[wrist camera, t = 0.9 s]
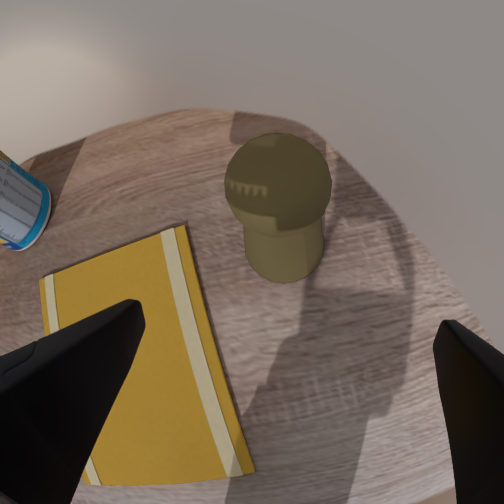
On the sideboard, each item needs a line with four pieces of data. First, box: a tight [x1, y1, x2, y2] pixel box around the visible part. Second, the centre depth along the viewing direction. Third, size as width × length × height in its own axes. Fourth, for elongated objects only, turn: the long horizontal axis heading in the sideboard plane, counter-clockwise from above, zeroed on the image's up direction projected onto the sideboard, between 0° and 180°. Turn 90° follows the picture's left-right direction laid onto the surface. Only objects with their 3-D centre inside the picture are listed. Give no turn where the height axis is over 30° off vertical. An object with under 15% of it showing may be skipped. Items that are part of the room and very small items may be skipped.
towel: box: [39, 225, 255, 485], centre depth 22 cm, size 20×16×1 cm
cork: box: [224, 133, 332, 283], centre depth 19 cm, size 6×6×11 cm
